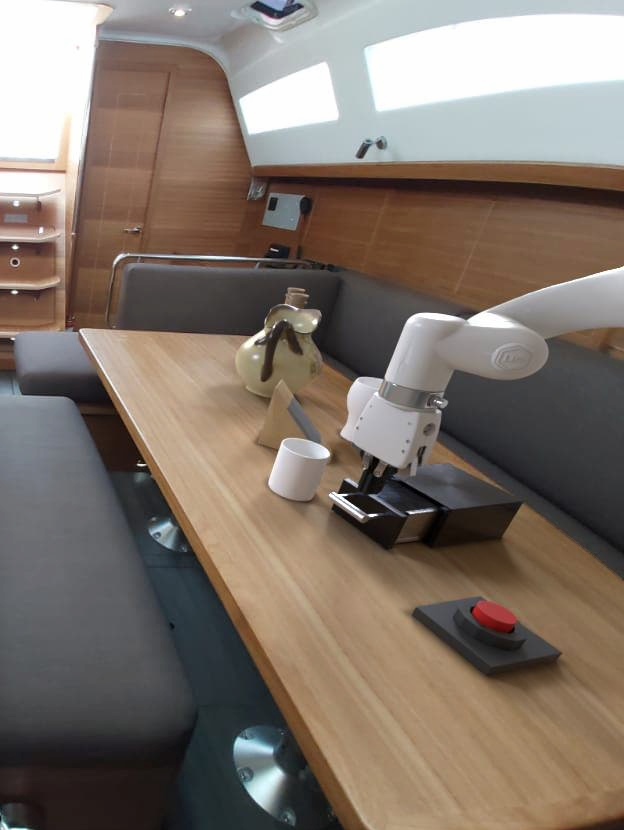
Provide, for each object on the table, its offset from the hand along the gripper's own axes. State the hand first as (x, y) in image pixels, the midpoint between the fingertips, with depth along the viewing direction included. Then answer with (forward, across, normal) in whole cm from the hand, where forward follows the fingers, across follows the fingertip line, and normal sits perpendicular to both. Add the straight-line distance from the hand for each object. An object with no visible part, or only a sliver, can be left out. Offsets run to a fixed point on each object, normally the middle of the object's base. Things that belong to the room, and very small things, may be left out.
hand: (367, 491), depth 86 cm
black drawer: (+8, 0, -6) cm, 11 cm away
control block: (+10, -23, +2) cm, 25 cm away
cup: (+10, +31, -34) cm, 48 cm away
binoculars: (+9, +87, -57) cm, 104 cm away
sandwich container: (+9, +29, -14) cm, 34 cm away
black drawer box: (+10, 0, -18) cm, 21 cm away
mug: (+9, +15, 0) cm, 18 cm away
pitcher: (+9, +61, -33) cm, 70 cm away
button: (+6, -23, +1) cm, 24 cm away
